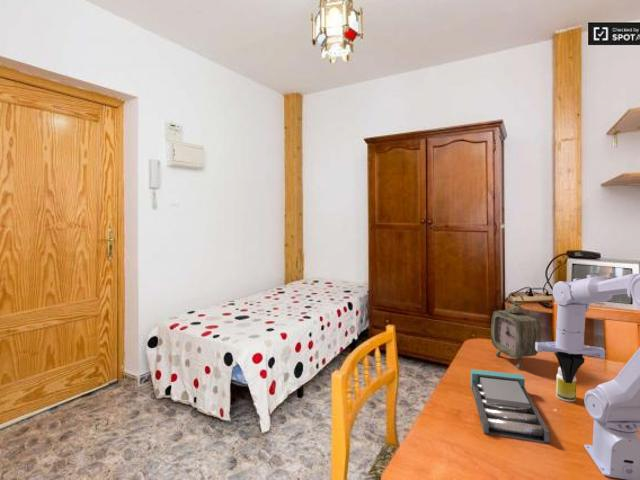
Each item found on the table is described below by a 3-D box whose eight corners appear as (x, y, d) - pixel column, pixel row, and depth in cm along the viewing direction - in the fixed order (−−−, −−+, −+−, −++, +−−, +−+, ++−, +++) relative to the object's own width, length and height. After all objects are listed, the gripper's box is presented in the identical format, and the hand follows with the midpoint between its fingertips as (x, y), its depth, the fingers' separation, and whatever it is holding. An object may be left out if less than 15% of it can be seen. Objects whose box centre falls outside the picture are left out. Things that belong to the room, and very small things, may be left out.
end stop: (524, 396, 101) (525, 379, 101) (472, 390, 105) (472, 374, 105) (521, 390, 105) (522, 374, 104) (470, 384, 109) (471, 369, 108)
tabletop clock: (490, 354, 131) (491, 288, 129) (511, 352, 133) (513, 287, 131) (518, 371, 117) (521, 298, 115) (542, 369, 119) (545, 296, 117)
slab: (529, 408, 90) (529, 403, 90) (486, 403, 93) (486, 397, 93) (517, 386, 101) (517, 381, 101) (479, 381, 104) (480, 377, 104)
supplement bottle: (579, 402, 98) (580, 373, 97) (560, 401, 99) (561, 372, 98) (570, 394, 102) (571, 366, 102) (552, 392, 103) (553, 365, 103)
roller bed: (549, 443, 81) (549, 432, 81) (483, 433, 85) (484, 422, 85) (523, 395, 102) (524, 386, 102) (472, 389, 106) (472, 380, 106)
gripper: (597, 326, 89) (593, 377, 91) (532, 321, 93) (530, 370, 95) (611, 336, 83) (607, 391, 84) (540, 330, 87) (538, 383, 88)
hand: (567, 381), depth 89 cm, fingers closed
